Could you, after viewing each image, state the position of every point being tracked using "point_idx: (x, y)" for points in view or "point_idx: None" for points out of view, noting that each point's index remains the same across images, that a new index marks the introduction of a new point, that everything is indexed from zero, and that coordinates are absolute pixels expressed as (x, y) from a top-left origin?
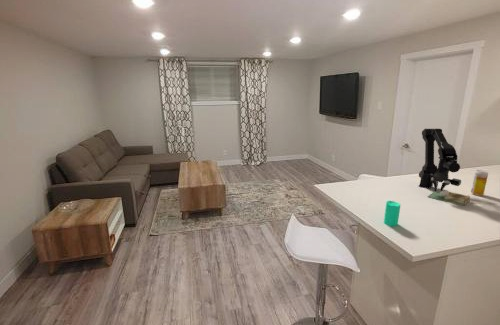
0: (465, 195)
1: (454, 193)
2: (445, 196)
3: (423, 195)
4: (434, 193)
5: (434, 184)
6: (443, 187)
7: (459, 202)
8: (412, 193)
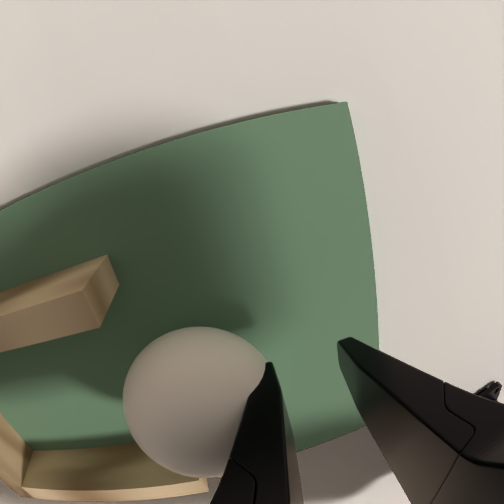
0: (39, 492)
1: (130, 486)
2: (81, 281)
3: (411, 137)
4: None
5: (484, 413)
6: (218, 490)
7: None
8: (496, 98)
